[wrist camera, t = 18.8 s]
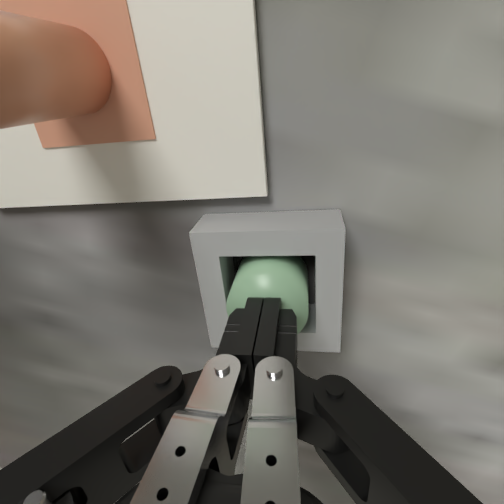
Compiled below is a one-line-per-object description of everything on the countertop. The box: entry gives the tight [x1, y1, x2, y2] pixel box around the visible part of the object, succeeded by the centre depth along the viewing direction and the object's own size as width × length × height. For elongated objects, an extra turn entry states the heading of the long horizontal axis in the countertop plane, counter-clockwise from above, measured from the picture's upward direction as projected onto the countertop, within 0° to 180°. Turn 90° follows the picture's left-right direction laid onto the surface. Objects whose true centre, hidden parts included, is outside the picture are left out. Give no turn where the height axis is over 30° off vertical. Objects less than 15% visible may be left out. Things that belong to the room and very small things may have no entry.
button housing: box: [189, 209, 346, 353], centre depth 17 cm, size 7×7×2 cm
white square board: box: [0, 0, 268, 208], centre depth 13 cm, size 16×16×1 cm
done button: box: [226, 256, 308, 334], centre depth 16 cm, size 4×4×3 cm
